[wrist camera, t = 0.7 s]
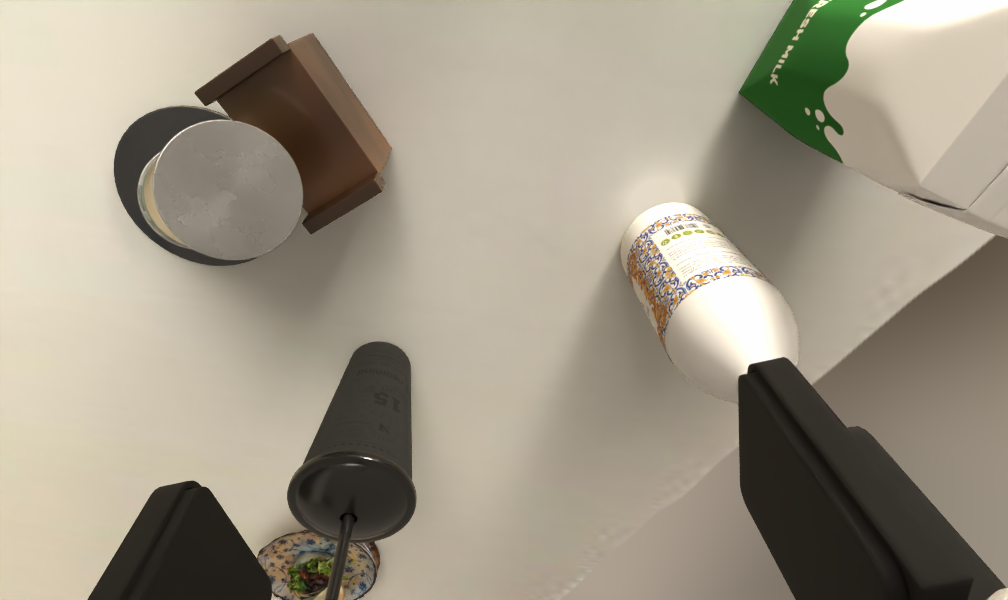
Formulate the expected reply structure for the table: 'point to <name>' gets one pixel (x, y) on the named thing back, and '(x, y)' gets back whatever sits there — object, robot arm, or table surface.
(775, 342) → the bath foam
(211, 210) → the can
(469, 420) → the table surface
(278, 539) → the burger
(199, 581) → the robot arm
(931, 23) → the milk carton
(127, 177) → the coaster
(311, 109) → the rest
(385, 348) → the drinking cup
